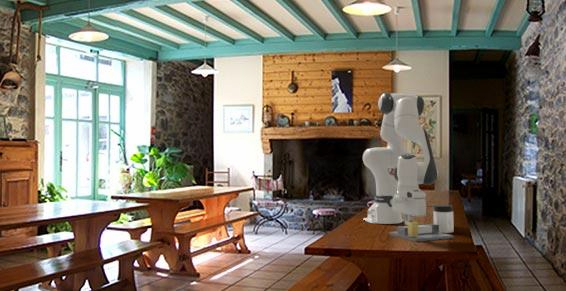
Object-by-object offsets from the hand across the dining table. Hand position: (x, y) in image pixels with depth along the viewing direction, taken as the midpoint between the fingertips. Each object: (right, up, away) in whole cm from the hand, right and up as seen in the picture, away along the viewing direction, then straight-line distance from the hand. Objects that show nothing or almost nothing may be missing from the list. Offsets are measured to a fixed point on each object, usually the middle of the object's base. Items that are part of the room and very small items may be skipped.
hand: (408, 225), depth 233 cm
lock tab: (+1, -4, -3) cm, 5 cm away
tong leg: (+9, -4, +6) cm, 11 cm away
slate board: (+6, -6, +5) cm, 10 cm away
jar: (+20, -6, +18) cm, 28 cm away
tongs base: (+6, -4, +7) cm, 10 cm away
